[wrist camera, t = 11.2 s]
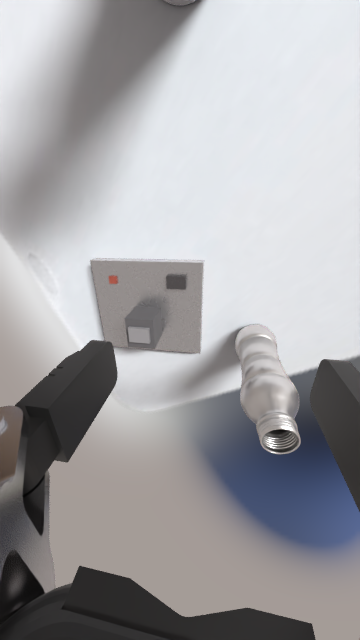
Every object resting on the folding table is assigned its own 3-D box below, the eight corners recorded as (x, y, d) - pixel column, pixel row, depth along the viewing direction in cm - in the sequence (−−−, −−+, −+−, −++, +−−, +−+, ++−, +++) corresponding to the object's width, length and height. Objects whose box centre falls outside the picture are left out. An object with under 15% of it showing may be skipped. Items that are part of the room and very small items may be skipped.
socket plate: (96, 258, 37) (87, 261, 35) (203, 260, 35) (202, 263, 32) (110, 340, 44) (103, 347, 42) (201, 347, 41) (199, 356, 39)
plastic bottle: (281, 330, 37) (335, 435, 20) (258, 358, 40) (287, 472, 23) (247, 313, 37) (271, 405, 19) (226, 343, 40) (231, 446, 22)
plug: (139, 301, 39) (122, 320, 33) (163, 303, 39) (151, 322, 32) (141, 326, 42) (126, 348, 35) (164, 328, 41) (153, 351, 34)
